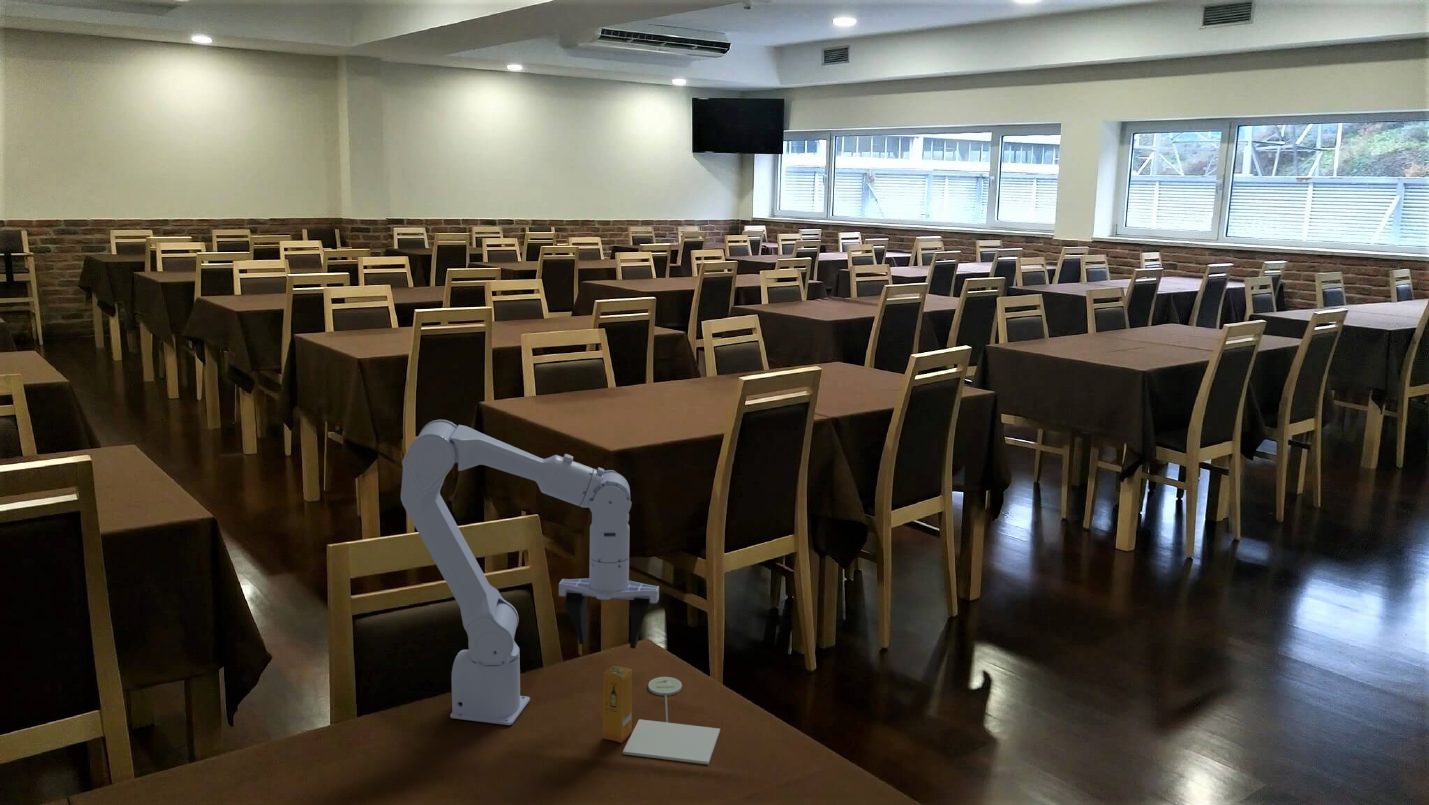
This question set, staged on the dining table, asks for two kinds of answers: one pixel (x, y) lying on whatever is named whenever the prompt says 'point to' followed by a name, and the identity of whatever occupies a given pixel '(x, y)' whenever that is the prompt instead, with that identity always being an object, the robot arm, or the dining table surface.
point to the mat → (672, 741)
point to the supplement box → (617, 704)
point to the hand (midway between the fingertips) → (608, 643)
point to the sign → (665, 688)
